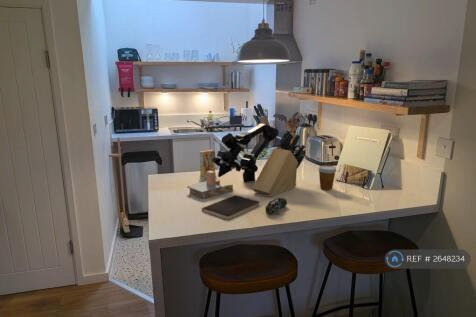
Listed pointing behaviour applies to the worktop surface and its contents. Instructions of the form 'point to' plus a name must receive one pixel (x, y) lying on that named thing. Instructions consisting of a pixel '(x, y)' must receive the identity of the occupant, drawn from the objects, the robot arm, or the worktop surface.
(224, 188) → the oak box
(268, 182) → the knife block
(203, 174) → the candy box
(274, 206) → the stun grenade
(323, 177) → the disposable coffee cup
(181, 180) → the worktop surface
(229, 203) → the hardcover book
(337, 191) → the worktop surface
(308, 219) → the worktop surface
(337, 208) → the worktop surface
